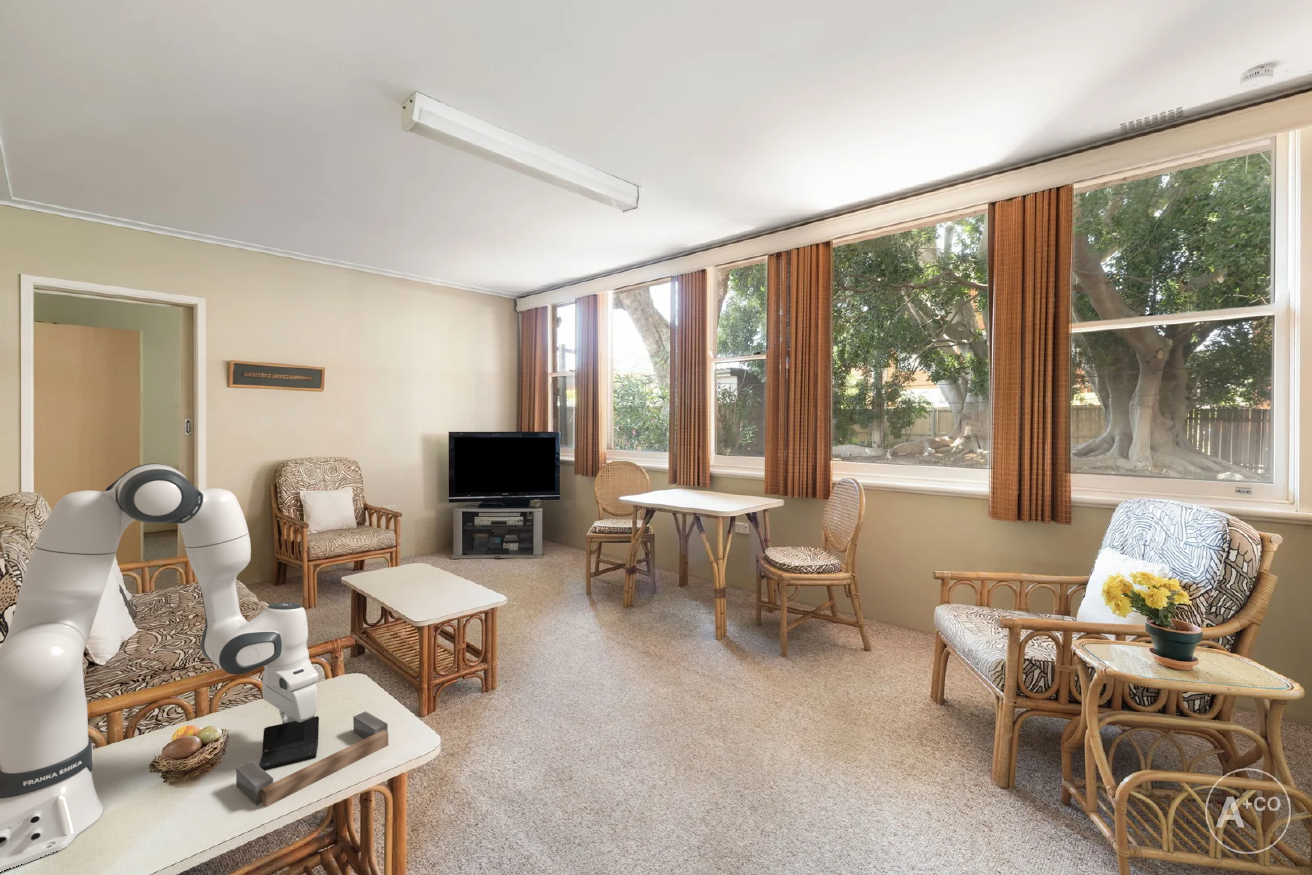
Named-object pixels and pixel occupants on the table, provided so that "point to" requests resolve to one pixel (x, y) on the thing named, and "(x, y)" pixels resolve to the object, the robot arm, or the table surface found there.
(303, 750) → the handheld gaming console
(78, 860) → the table surface
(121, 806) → the table surface
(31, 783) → the robot arm
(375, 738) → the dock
